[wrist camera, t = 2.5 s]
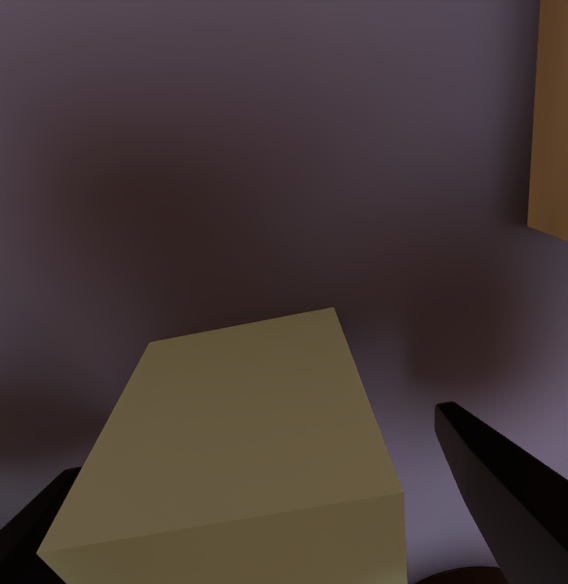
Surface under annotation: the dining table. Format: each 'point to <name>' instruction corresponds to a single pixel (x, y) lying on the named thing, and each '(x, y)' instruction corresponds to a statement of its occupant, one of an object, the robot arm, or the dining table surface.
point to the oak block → (550, 124)
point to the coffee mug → (468, 576)
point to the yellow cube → (237, 468)
